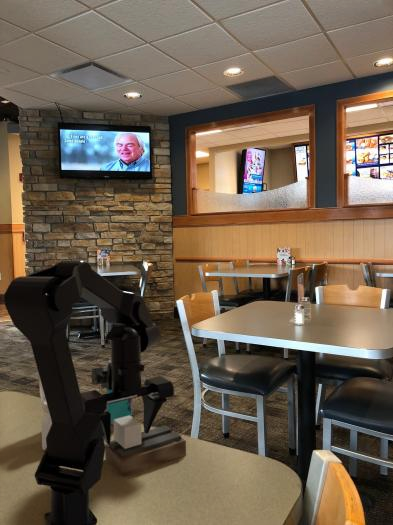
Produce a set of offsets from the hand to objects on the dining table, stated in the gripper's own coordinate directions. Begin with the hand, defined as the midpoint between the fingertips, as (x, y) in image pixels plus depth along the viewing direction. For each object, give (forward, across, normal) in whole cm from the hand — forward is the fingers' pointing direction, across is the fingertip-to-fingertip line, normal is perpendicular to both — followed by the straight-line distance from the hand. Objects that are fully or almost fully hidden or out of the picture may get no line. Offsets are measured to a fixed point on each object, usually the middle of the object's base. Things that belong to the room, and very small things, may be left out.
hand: (127, 438), depth 84 cm
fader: (+2, 0, 0) cm, 2 cm away
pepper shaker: (+5, +10, -16) cm, 20 cm away
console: (+5, -4, 0) cm, 6 cm away
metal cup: (+5, +7, -23) cm, 25 cm away
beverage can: (+5, -7, -19) cm, 21 cm away
